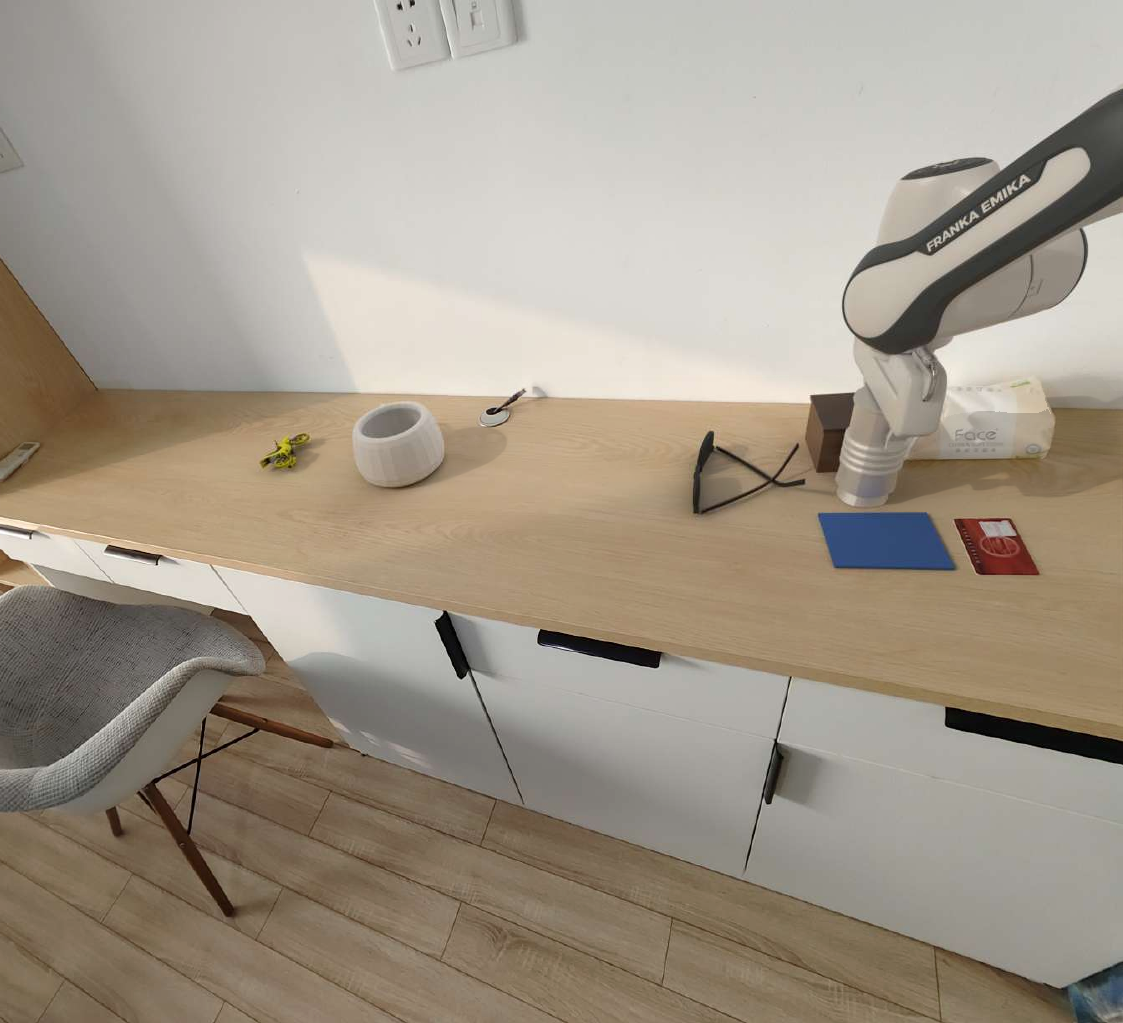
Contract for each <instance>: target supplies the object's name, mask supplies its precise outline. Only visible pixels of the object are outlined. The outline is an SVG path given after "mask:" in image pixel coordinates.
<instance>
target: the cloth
mask: <svg viewBox="0 0 1123 1023" xmlns="http://www.w3.org/2000/svg"><path fill="white" fill-rule="evenodd" d="M817 517H818V521H819V523H820V527H821V529H822V532H823V536H824V539H825V543H826V545H827V549H828V552H829V555H830V559H831V561H832V564H833V568H834V569H872V570H873V569H876V570H877V569H878V570H879V569H880V570H922V571H924V570H925V571H928V570H929V571H930V570H931V571H955V570H956V567H955V565H954V563H953V561H952V559H951V557H950V555H949V553H948V552H947V549H946V547H945V545H944V543H943V542H942V539H941V537H940V536H939V534H938V532H937V530H936V527H935V526H934V524H933V522H932V520H931V519H930V516H929V514H928V513H927V511H919V512H918V511H912V512H911V511H908V512H907V511H901V512H900V511H899V512H898V511H897V512H893V511H892V512H889V511H888V512H884V511H883V512H818V513H817Z"/></svg>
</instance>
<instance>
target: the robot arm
mask: <svg viewBox="0 0 1123 1023" xmlns="http://www.w3.org/2000/svg"><path fill="white" fill-rule="evenodd" d="M1122 213H1123V82H1122V83H1121V84H1119V85H1118V86H1117V87H1115V88H1113V90H1111V91H1110V92H1108V93H1107V94H1106V95H1105V96H1103V97H1102V98H1100V100H1098V101H1097V102H1095V103H1094V104H1093V105H1091V106H1089V107H1088V108H1087V109H1085V110H1084V111H1082V112H1081V113H1080V114H1079V115H1077V116H1076V117H1074V118H1073V119H1072V120H1070V121H1068V122H1066V123H1065V124H1064V125H1063V126H1062V127H1059V129H1057V130H1056V131H1054V132H1052V133H1051V134H1050V135H1048V136H1047V137H1046V138H1045V137H1044V139H1043V140H1041V141H1039V142H1038V143H1037V144H1036V145H1034V146H1033V147H1031V148H1030V149H1028V150H1027V151H1026V152H1025V153H1023V154H1021V155H1020V156H1019V157H1017V158H1016V159H1015V160H1014V161H1011V163H1009V164H1008V165H1007V166H1005V167H1004V168H1002V169H1001V167H1000V165H999V163H998V162H997V161H996V160H994V159H992V158H987V157H983V156H982V157H980V156H976V157H966V158H959V159H953V160H950V161H945V162H939V163H935V164H932V165H927V166H925V167H921V168H918V169H914V170H912V171H910V172H909V173H907V174H905V175H904V176H903V177H901V178H900V179H899V180H898V181H897V182H896V184H895V186H894V187H893V189H892V191H891V193H890V195H889V198H888V200H887V202H886V205H885V208H884V210H883V214H882V217H881V220H880V225H879V229H878V231H877V237H876V241H875V246H874V247H873V248H872V249H870V250H869V251H868V252H866V253H865V255H864V256H863V257H862V259H861V260H860V261H859V262H858V264H857V265H856V267H855V268H854V269H853V271H852V272H851V275H850V276H849V278H848V281H847V283H846V285H845V288H844V290H843V294H842V298H841V314H842V318H843V320H844V323H845V325H846V327H847V329H848V330H849V332H851V334H852V335H853V336H854V337H853V348H852V351H853V352H852V353H853V360H854V363H855V364H856V366H857V368H858V369H859V371H860V373H861V375H862V377H863V379H862V381H863V387H864V386H869V388H870V390H871V392H872V394H873V396H874V398H875V399H876V401H877V403H878V405H879V407H880V409H881V411H882V412H883V414H884V416H885V418H886V420H887V422H888V423H889V427H890V431H889V433H886V434H884V440H883V442H882V444H883V446H884V448H885V450H886V452H900V451H902V450H903V449H904V445H905V442H906V440H907V439H908V438H909V437H910V438H922V437H929V436H932V435H933V434H934V433H935V432H936V431H937V430H938V428H939V424H940V421H941V418H942V417H941V416H942V412H943V410H944V405H945V399H946V395H947V389H948V388H947V387H948V374H947V371H946V369H945V367H944V366H943V364H942V363H941V362H940V360H939V359H938V356H937V355H936V354H935V352H936V350H939V349H942V348H944V347H946V346H947V345H949V344H950V343H951V342H952V341H953V340H954V337H956V336H960V335H964V334H967V333H971V332H975V331H979V330H983V329H986V328H990V327H993V326H996V325H999V324H1004V323H1008V322H1012V321H1015V320H1018V319H1022V318H1026V317H1030V316H1033V315H1035V314H1039V313H1041V312H1043V311H1047V310H1049V309H1052V308H1054V307H1056V306H1058V305H1059V304H1061V303H1062V302H1063V301H1065V300H1066V299H1067V298H1068V297H1069V296H1070V294H1072V292H1073V291H1074V290H1075V288H1076V287H1077V286H1078V284H1079V283H1080V281H1081V279H1082V277H1083V274H1084V272H1085V270H1086V267H1087V263H1088V258H1089V243H1088V242H1089V241H1088V237H1087V234H1086V232H1085V230H1084V228H1085V227H1087V226H1090V225H1093V224H1095V223H1097V222H1100V221H1103V220H1105V219H1108V218H1111V217H1115V216H1117V215H1119V214H1120V215H1121V214H1122Z"/></svg>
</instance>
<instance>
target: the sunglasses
mask: <svg viewBox="0 0 1123 1023" xmlns="http://www.w3.org/2000/svg"><path fill="white" fill-rule="evenodd" d="M714 440H715V432H714V430H709V431H708V432H706V435H705V436H704V438H703V440H702V442H701V445H700V447H699V452H698V456H697V462H696V465H695V468H694V472H693V477H692V480H693V483H692V484H693V486H692V511H693V513H692V514H696V515H699V514H700V515H703V514H706V513H708V512H711V511H714V510H717V509H719V508H723V506H727V505H729V504H732V503H733V502H737V501H739V500H741V499H743V498H745V497H748V496H749V495H752V494H754V493H756V492H758V491H760V490H762V489H764V488H766V487H767V486H768V485H770V484H774V485H775V486H777V487H779V488H790V487H800V486H804V485H806V479H805V478H800V479H797V480H792V481H789V482H781V481H778V480H776V479H777V478H778V477H779V476H780V475H781V473H782V472H783V471H784V470H785V468H786V466H787V465H788V464H789V462H790V461H791V460H792V458H793V457H794V456H795V454H796V453H797V451H798V449H799V448H800V443H799V442H796V444H795V445H794V446H793V447H792V450H790V453H789V454H788V456H787V457H786V459H785V460H784V462H783V464H781V467H780V468H779V469H778V470H777V472H776V473H775V474H774V475H773V476H772V477H771V476H769V475H768V474H767V473H766V472H764V471H762V470H760V469H759V468H757V467H756V466H754V465H753V464H751V463H750V462H748V461H746V460H745V459H743V458H741V457H740V456H738V455H736V454H734V453H732V452H731V451H728V450H727V449H725V448H722V447H721V446H720V445H714ZM714 450H715V451H718V452H720V453H722V454H723V455H725V456H727V457H729V458H731V459H733V460H734V461H736V462H738V463H740V464H741V465H743V466H745V467H747V468H748V469H750V470H751V471H753V472H754V473H756V474H758V475H759V476H761V477H762V478H764V479H765V480H767V481H765V482H764V483H762V484H760V485H758V486H756V487H754V488H752V489H749V490H747V491H745V492H743V493H741V494H738V495H736V496H734V497H731V498H728V499H726V500H724V501H721V502H718V503H715V504H713V505H711V506H708V507H705V508H703V509H701V508H700V506H699V505H700V497H701V489H702V488H701V487H702V486H701V484H702V481H701V474H702V473H703V470H704V469H703V467H704V466H705V464H706V462H707V461H708V459H709V457H710V455H711V453H712V452H714Z"/></svg>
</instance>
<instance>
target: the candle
mask: <svg viewBox="0 0 1123 1023" xmlns="http://www.w3.org/2000/svg"><path fill="white" fill-rule="evenodd" d="M854 392H855V394H854V397H853V400H854V403H855V404H854V409H853V413H852V417H851V422H850V426H849V427H848V428H847V429H846V431H845V435H844V440H843V445H842V449H841V454H840V458H839V459H840V466H839V469H838V472H836V474H835V475H836V476H835V484H836V486H837V488H836V490H835V492H836V496H837V498H838V499H839V500H840V501H841V502H843V503H845V504H846V505H850V506H852V507H857V508H862V509H872V508H877V507H881V506H883V505H885V504H886V503H887V502H888V499H889V495H890V494H892V493H893V492H894V491H895V490H896V486H897V482H898V476H899V475H898V474H899V472H900V470H901V469H902V468H903V465H904V461H905V459H906V454H907V452H908V449H909V445H910V443H911V437H909V438H908V439H907V440H906V442H905V445H904V449H903V450H902V451H900V452H886V450H885V448H884V446H883V444H882V442H883V440H884V434H886V433H889V431H890V427H889V423H888V422H887V420H886V418H885V416H884V414H883V412H882V411H881V409H880V407H879V405H878V403H877V401H876V399H875V398H874V396H873V394H872V392H871V390H870V388H869V386H864V385H863V386H862V387H860V388H858V389H857V390H856V391H854Z"/></svg>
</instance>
